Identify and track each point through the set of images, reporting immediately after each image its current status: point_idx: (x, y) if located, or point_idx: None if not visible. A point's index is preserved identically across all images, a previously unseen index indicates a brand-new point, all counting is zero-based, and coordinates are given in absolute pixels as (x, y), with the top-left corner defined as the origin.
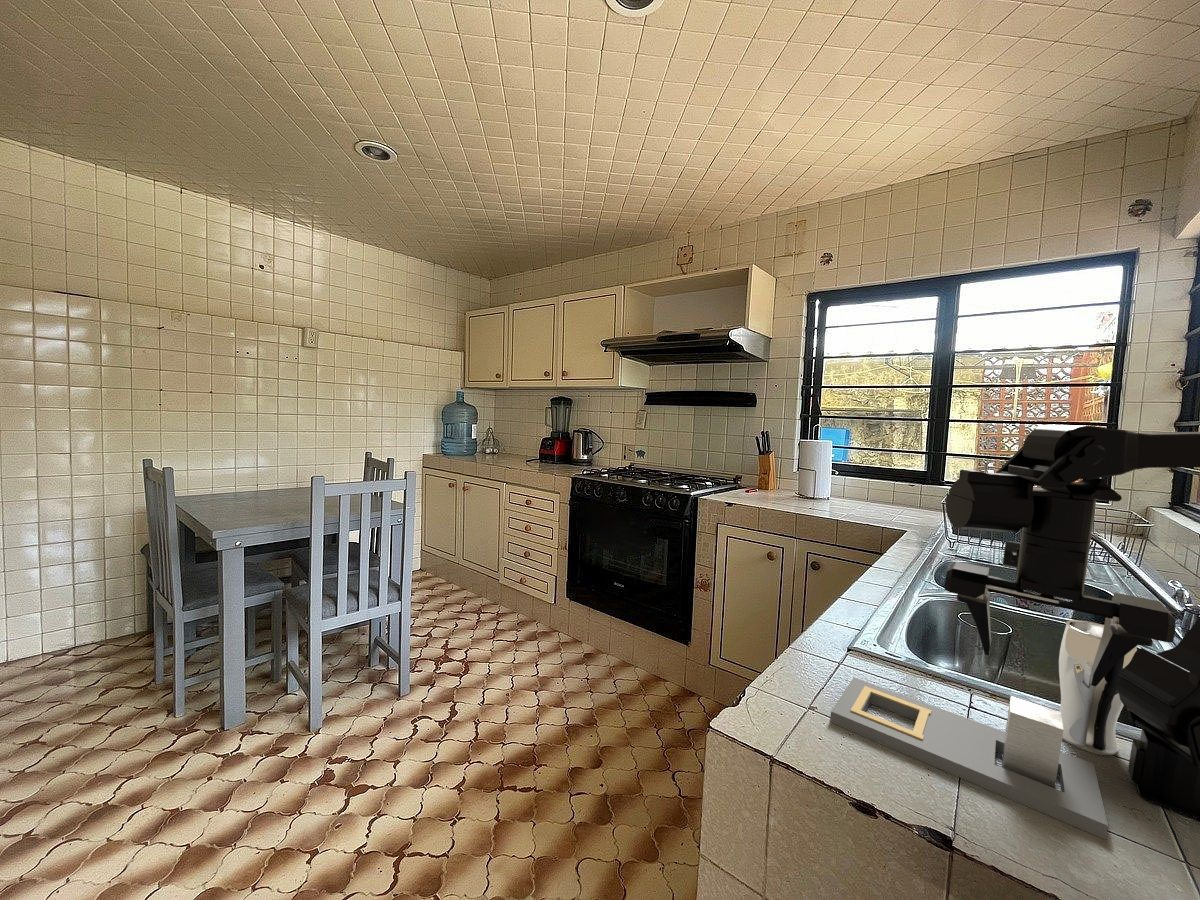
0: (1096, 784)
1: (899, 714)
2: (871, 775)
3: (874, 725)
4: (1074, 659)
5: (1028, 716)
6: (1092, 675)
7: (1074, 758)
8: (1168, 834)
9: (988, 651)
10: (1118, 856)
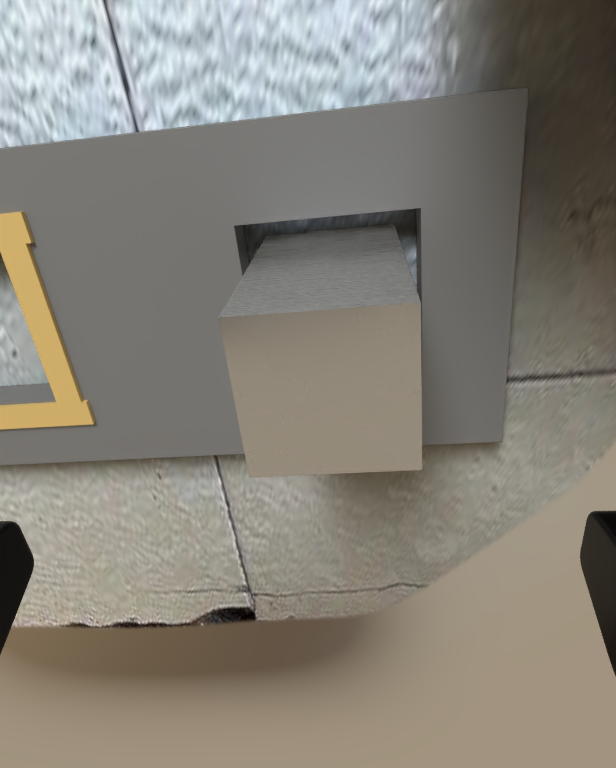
0: (510, 251)
1: None
2: (90, 557)
3: None
4: None
5: (307, 466)
6: (608, 625)
7: (467, 110)
8: None
9: (17, 605)
10: (506, 456)
